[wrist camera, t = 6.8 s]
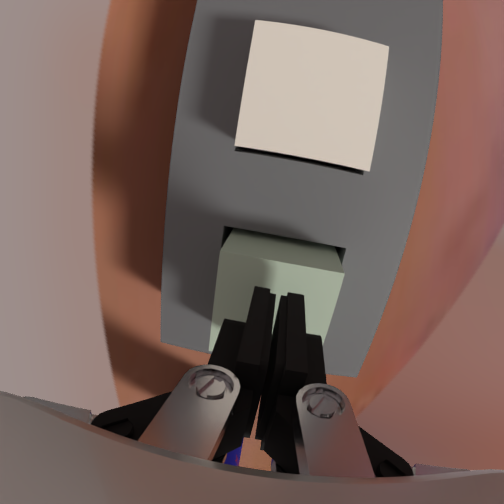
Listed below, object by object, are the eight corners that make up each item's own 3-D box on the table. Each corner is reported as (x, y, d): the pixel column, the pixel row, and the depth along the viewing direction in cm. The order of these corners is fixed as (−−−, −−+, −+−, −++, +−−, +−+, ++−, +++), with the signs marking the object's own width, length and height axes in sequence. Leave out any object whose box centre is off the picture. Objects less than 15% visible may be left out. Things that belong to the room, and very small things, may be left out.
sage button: (311, 328, 16) (314, 369, 13) (223, 311, 16) (208, 350, 13) (333, 244, 14) (344, 273, 11) (235, 226, 14) (220, 250, 11)
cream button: (351, 163, 13) (369, 171, 10) (247, 143, 13) (234, 145, 10) (367, 65, 11) (389, 46, 8) (263, 45, 11) (255, 19, 8)
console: (346, 334, 19) (356, 377, 15) (183, 304, 19) (160, 342, 16) (414, -48, 10) (437, -79, 6) (243, -80, 11) (232, -118, 7)
